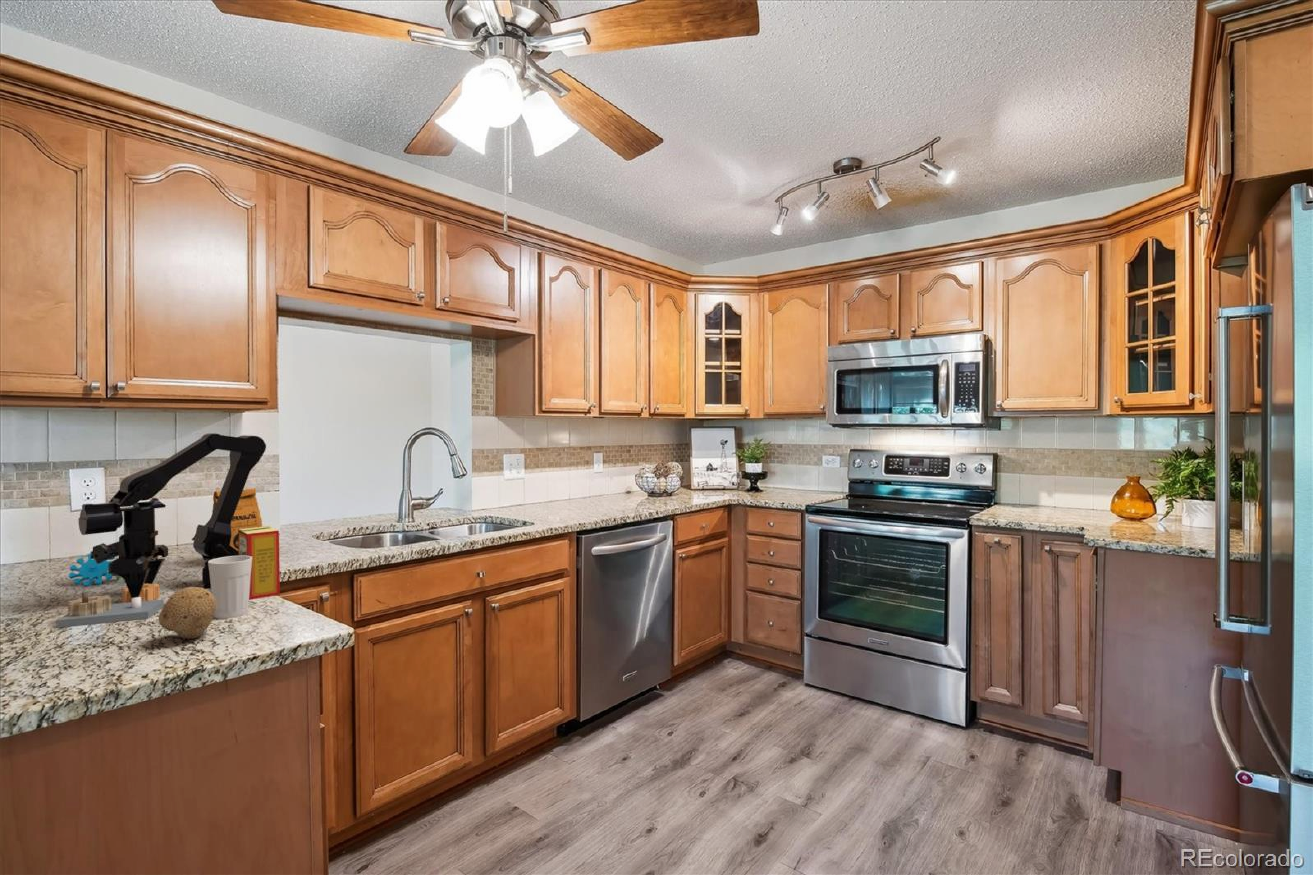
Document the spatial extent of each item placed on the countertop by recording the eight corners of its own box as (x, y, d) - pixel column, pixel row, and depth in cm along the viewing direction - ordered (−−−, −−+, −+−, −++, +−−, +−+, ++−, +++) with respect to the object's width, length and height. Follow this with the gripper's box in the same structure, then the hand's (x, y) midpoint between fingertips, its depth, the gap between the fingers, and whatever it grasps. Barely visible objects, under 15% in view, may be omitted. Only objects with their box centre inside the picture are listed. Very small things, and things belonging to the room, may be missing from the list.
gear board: (163, 605, 143) (163, 590, 143) (148, 618, 134) (148, 602, 134) (79, 613, 138) (79, 597, 138) (57, 627, 128) (57, 610, 128)
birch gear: (116, 605, 139) (116, 584, 139) (103, 614, 133) (103, 592, 132) (76, 608, 136) (76, 588, 136) (61, 618, 130) (60, 596, 130)
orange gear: (163, 594, 153) (163, 582, 153) (154, 602, 146) (153, 589, 146) (128, 597, 150) (128, 585, 150) (116, 605, 144) (116, 592, 144)
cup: (261, 610, 140) (260, 557, 140) (226, 621, 133) (225, 564, 132) (235, 607, 143) (234, 554, 142) (200, 617, 135) (199, 561, 135)
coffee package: (267, 563, 187) (266, 489, 186) (217, 570, 178) (215, 492, 177) (258, 558, 194) (257, 486, 193) (209, 564, 185) (208, 489, 184)
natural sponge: (152, 649, 116) (151, 595, 116) (167, 634, 125) (166, 584, 124) (211, 642, 120) (210, 590, 120) (222, 628, 128) (221, 579, 128)
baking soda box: (279, 594, 153) (278, 529, 153) (248, 600, 148) (247, 532, 148) (269, 587, 160) (268, 524, 159) (239, 592, 155) (238, 527, 155)
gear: (59, 582, 158) (78, 549, 164) (66, 594, 161) (84, 561, 168) (113, 585, 161) (130, 552, 168) (118, 597, 165) (134, 564, 172)
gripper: (112, 524, 153) (113, 588, 154) (77, 538, 136) (79, 609, 137) (168, 521, 158) (169, 583, 158) (141, 534, 140) (143, 603, 141)
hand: (141, 594), depth 148 cm, fingers closed on orange gear, 7 cm apart
